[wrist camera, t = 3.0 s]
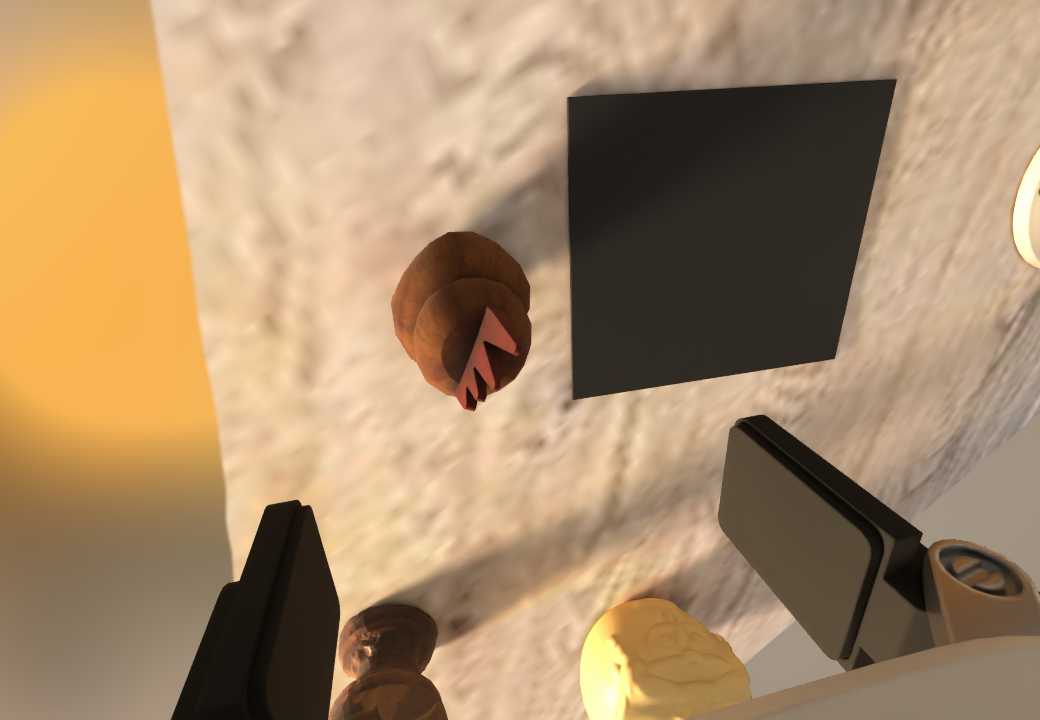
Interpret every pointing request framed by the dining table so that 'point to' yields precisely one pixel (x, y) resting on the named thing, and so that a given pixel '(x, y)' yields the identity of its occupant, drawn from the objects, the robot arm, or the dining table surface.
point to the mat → (715, 228)
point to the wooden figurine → (464, 316)
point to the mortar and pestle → (388, 666)
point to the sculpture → (657, 665)
